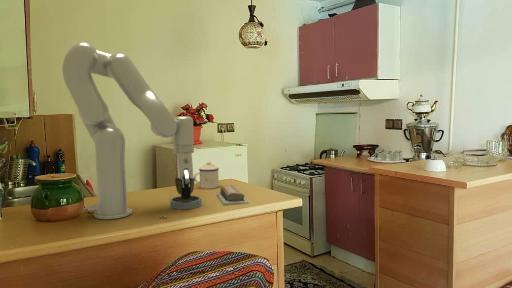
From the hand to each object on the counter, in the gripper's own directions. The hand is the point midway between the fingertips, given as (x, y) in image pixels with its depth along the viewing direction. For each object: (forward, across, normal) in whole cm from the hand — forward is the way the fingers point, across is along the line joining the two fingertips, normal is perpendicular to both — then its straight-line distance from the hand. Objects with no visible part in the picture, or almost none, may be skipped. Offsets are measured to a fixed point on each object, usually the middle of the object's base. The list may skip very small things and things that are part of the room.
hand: (185, 195), depth 151 cm
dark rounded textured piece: (+2, 0, 0) cm, 2 cm away
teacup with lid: (+4, +29, -13) cm, 32 cm away
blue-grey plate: (+4, 0, 0) cm, 4 cm away
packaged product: (+5, +4, -19) cm, 20 cm away
